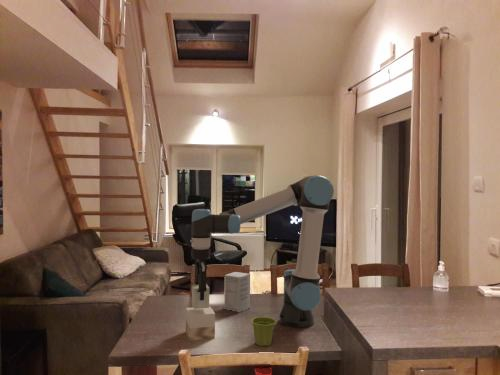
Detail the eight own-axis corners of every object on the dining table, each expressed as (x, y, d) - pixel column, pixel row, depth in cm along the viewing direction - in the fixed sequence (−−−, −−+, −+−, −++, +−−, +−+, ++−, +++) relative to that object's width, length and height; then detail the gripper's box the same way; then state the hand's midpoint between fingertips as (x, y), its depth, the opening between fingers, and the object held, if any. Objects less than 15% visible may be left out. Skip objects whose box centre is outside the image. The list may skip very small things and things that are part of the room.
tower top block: (209, 318, 168) (210, 306, 168) (214, 326, 158) (215, 313, 158) (185, 320, 165) (186, 307, 165) (189, 328, 155) (189, 315, 155)
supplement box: (250, 308, 198) (251, 273, 198) (240, 313, 190) (240, 277, 190) (234, 304, 203) (235, 271, 203) (223, 309, 195) (224, 274, 195)
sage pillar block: (206, 303, 166) (206, 284, 165) (209, 307, 160) (209, 287, 160) (191, 304, 164) (191, 284, 164) (194, 309, 158) (194, 288, 158)
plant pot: (258, 336, 160) (258, 315, 160) (279, 341, 156) (280, 319, 156) (246, 344, 152) (246, 322, 152) (268, 350, 148) (268, 326, 147)
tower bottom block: (209, 330, 168) (209, 318, 168) (214, 339, 158) (214, 326, 158) (185, 332, 165) (185, 320, 165) (189, 341, 155) (189, 328, 155)
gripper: (188, 244, 170) (187, 299, 170) (195, 252, 151) (194, 313, 152) (205, 244, 172) (204, 298, 172) (214, 251, 154) (213, 312, 154)
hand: (199, 305), depth 162 cm, fingers closed on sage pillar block, 6 cm apart
